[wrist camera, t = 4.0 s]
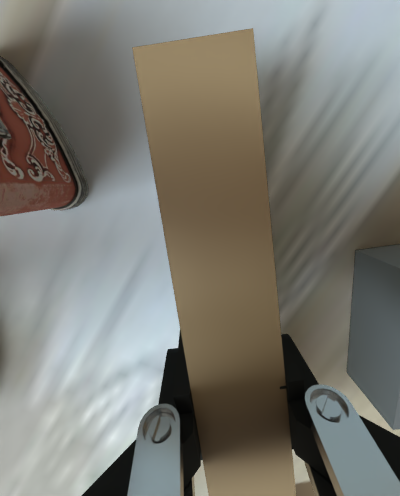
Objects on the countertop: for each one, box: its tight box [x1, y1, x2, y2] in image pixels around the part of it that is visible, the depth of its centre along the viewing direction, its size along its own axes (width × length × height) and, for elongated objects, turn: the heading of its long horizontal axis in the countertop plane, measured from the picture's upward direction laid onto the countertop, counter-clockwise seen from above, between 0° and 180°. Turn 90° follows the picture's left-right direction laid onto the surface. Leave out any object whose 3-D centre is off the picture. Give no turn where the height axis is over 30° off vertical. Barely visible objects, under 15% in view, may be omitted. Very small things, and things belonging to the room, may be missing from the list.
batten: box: [132, 28, 296, 496], centre depth 9 cm, size 22×3×5 cm, turn 8°
